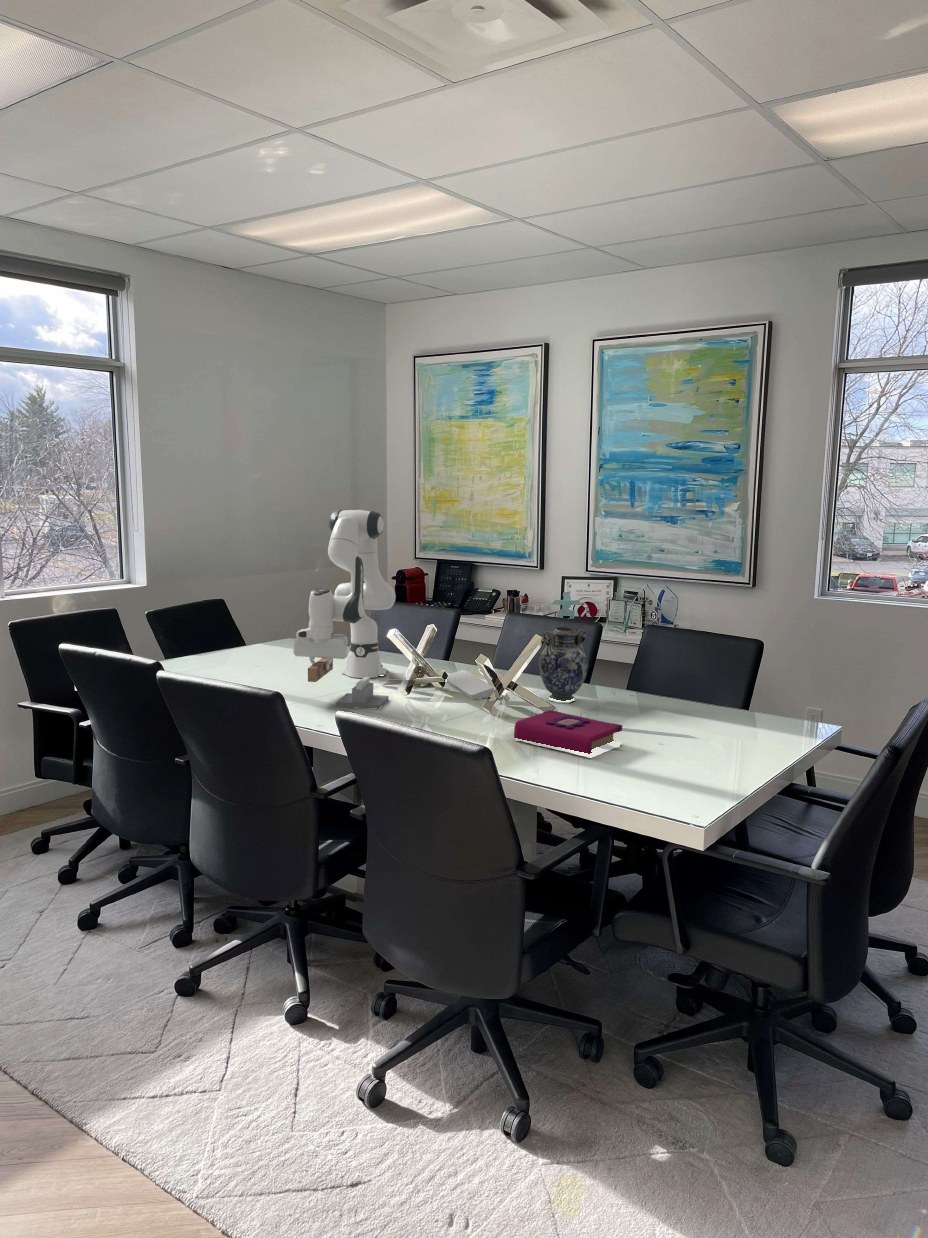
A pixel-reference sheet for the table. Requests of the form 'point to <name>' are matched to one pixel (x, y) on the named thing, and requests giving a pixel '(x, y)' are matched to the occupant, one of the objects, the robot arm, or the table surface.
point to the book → (566, 731)
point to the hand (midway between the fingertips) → (320, 669)
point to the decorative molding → (470, 685)
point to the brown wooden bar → (318, 670)
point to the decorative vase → (563, 662)
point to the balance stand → (362, 696)
